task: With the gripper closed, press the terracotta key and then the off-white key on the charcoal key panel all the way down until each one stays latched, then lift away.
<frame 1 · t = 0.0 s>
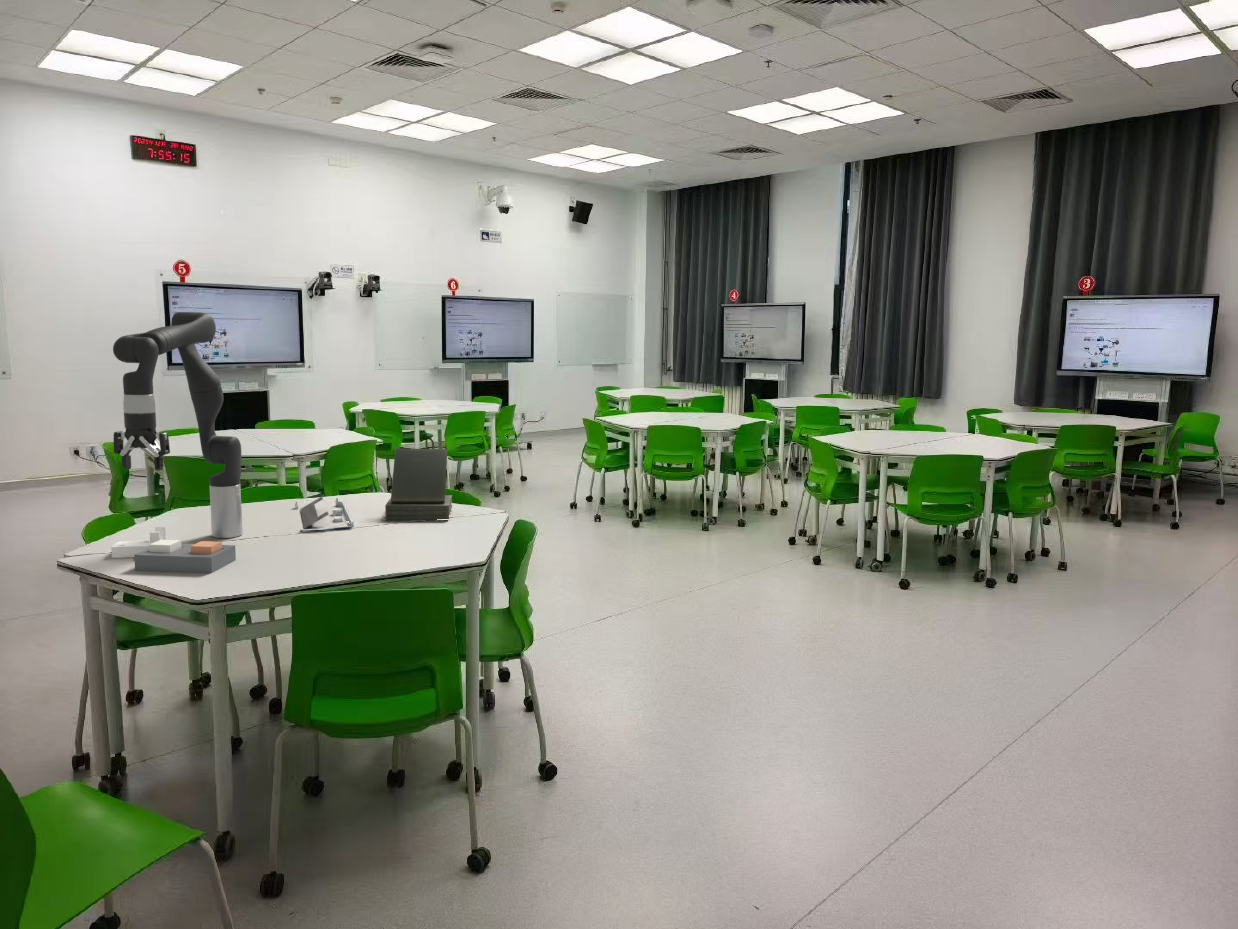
hand: (143, 469, 229), 29 cm above the table, tool pointing down, fingers open, 8 cm apart
terracotta key: (206, 549, 241), point 5 cm above the table, slide at 0.0 cm
off-white key: (165, 548, 241), point 5 cm above the table, slide at 0.0 cm
bracket: (139, 555, 252), on the table
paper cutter: (323, 520, 307), on the table
key panel: (186, 565, 242), on the table
upright slab on base: (420, 516, 317), on the table
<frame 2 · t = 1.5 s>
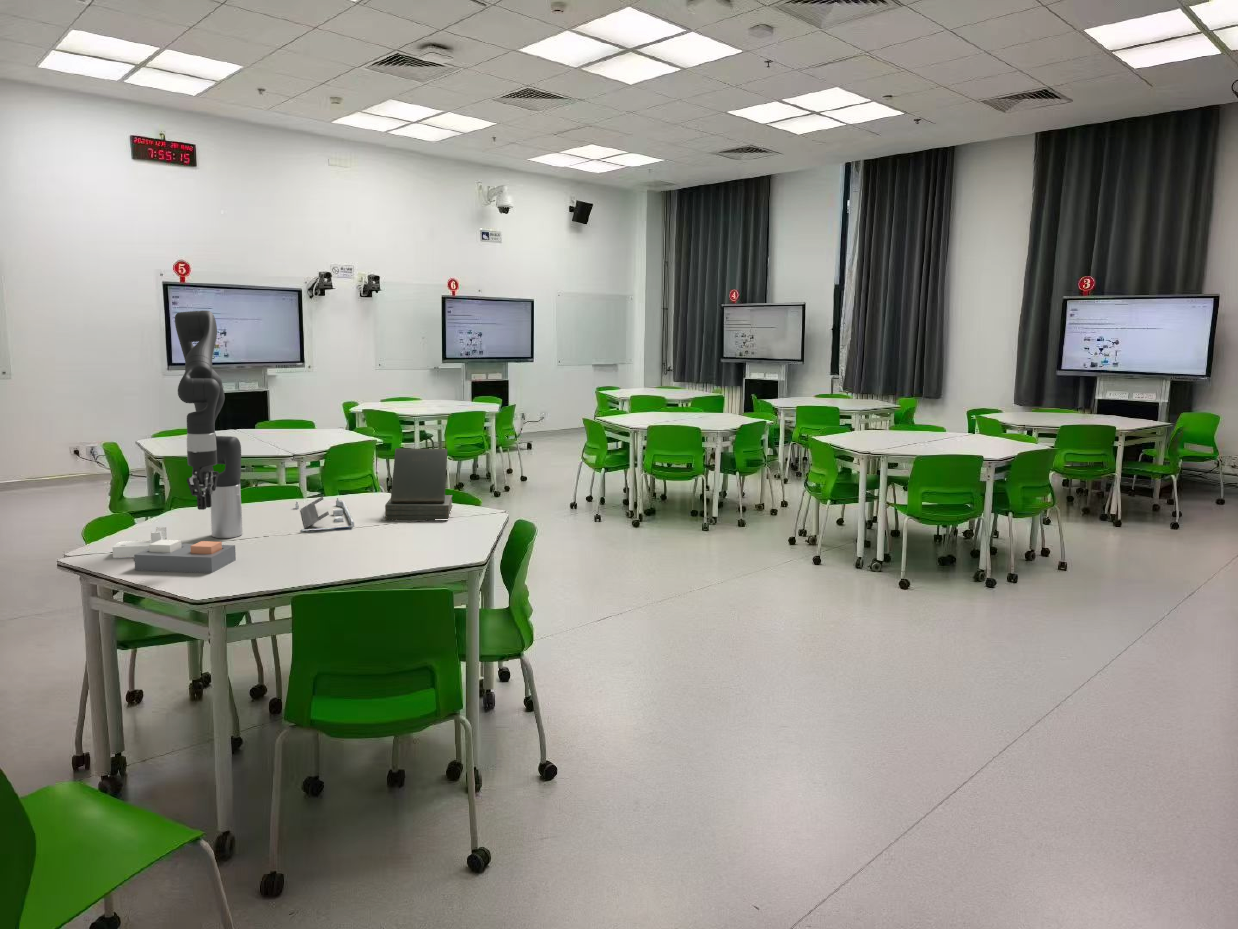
hand: (204, 508, 239), 17 cm above the table, tool pointing down, fingers closed
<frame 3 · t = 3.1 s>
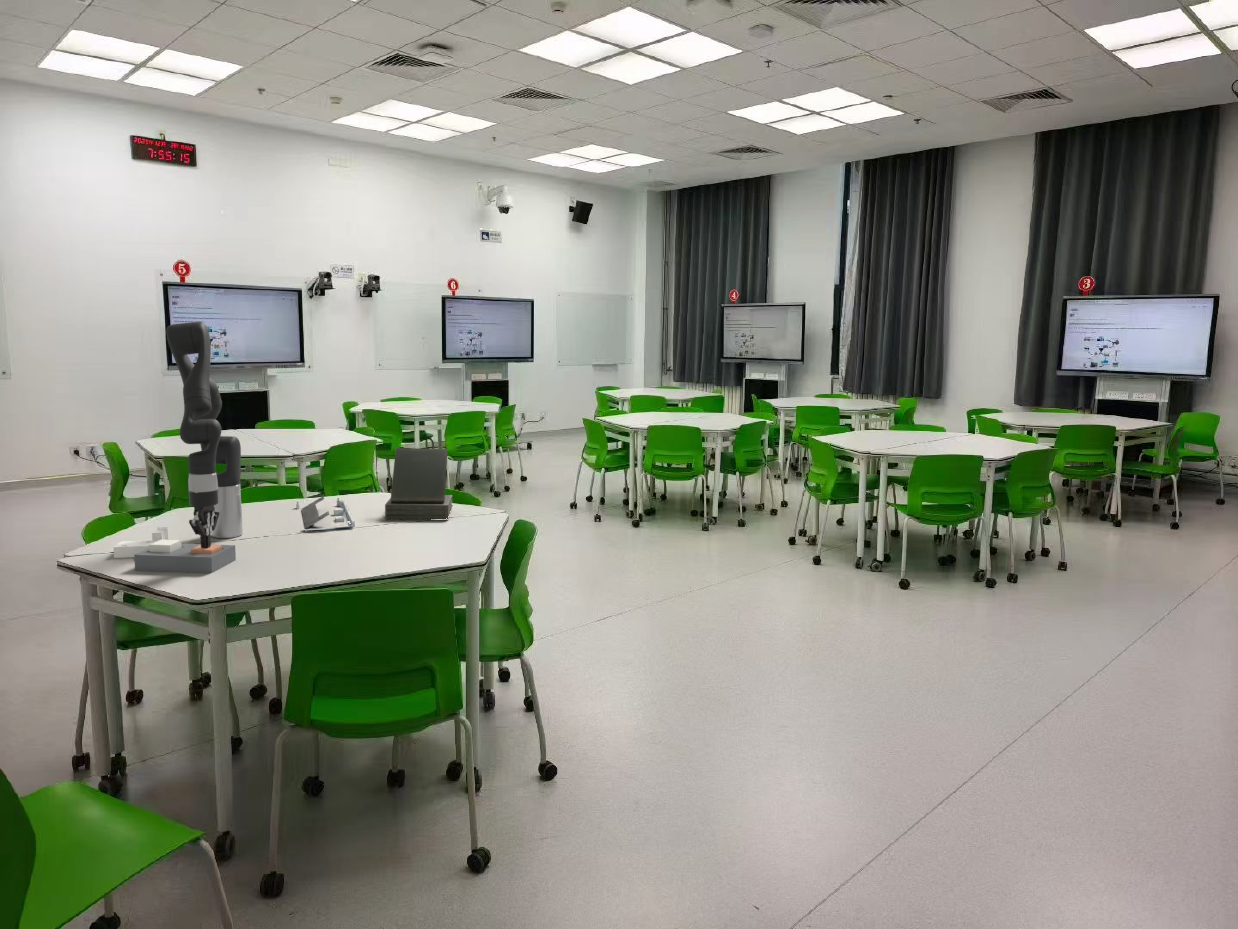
hand: (205, 547, 241), 5 cm above the table, tool pointing down, fingers closed
terracotta key: (206, 553, 241), point 4 cm above the table, slide at 1.0 cm, touching gripper
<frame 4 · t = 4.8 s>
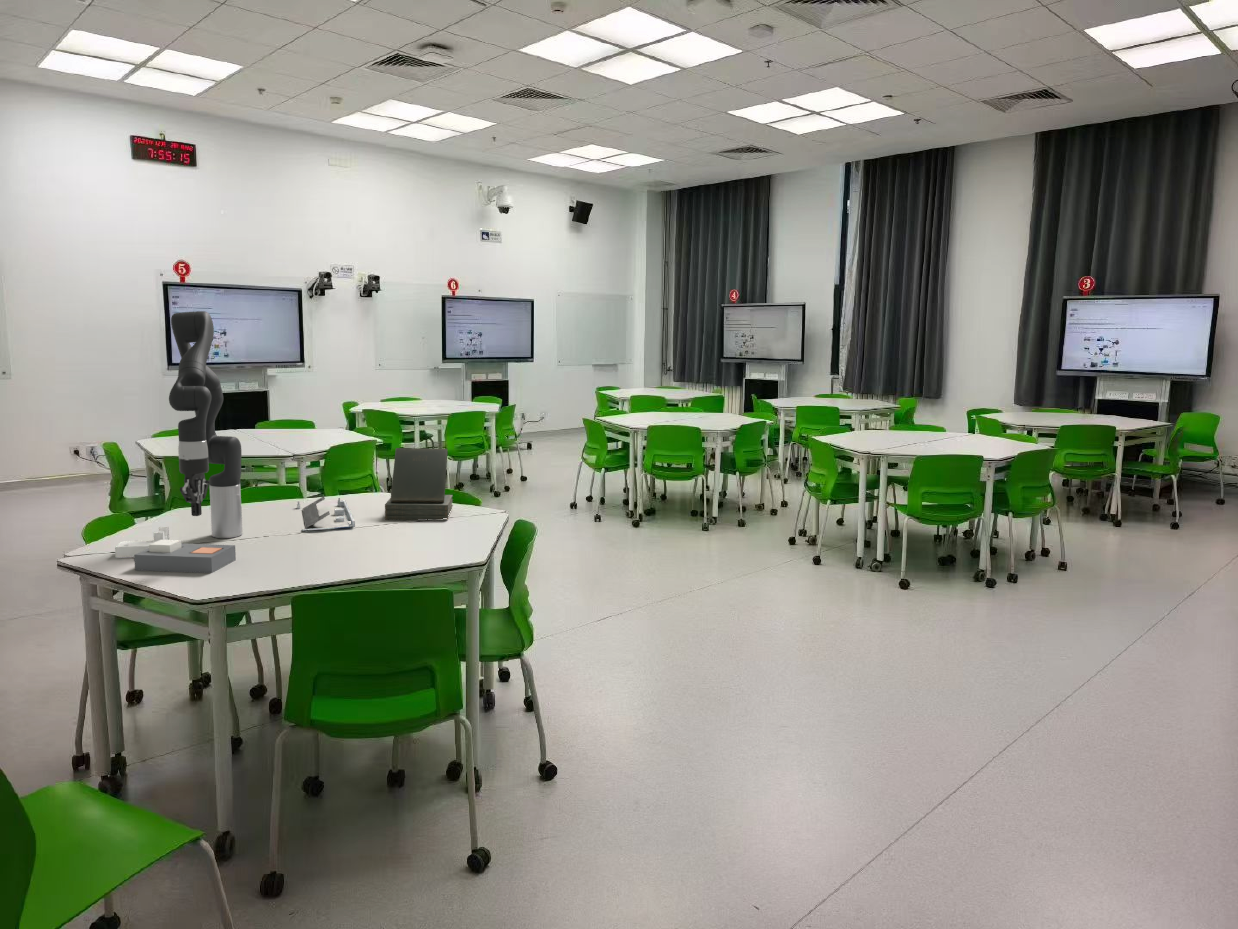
hand: (196, 515, 240), 15 cm above the table, tool pointing down, fingers closed
terracotta key: (206, 556, 241), point 3 cm above the table, slide at 1.9 cm
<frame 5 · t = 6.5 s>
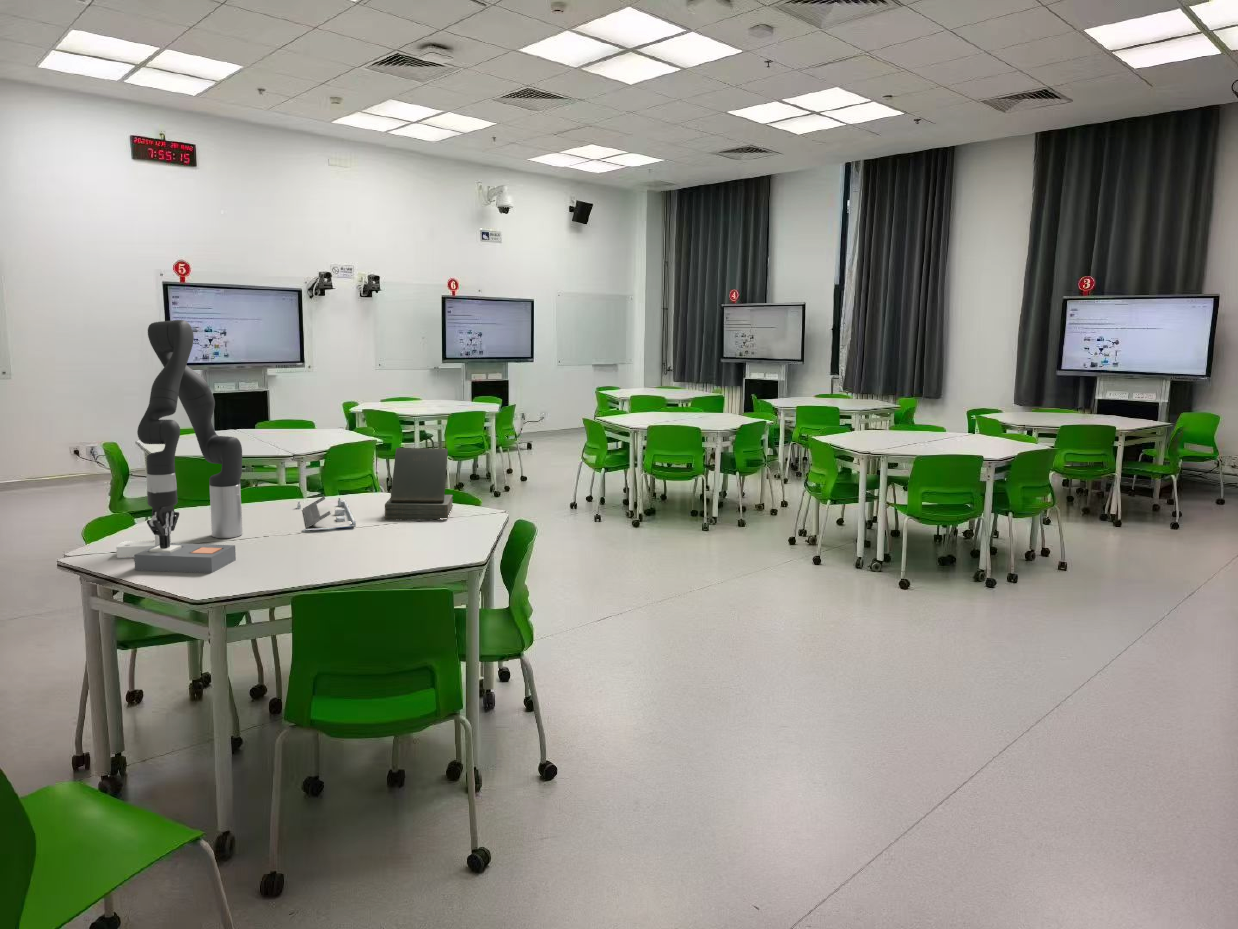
hand: (164, 547, 241), 5 cm above the table, tool pointing down, fingers closed
off-white key: (165, 553, 242), point 3 cm above the table, slide at 1.5 cm, touching gripper
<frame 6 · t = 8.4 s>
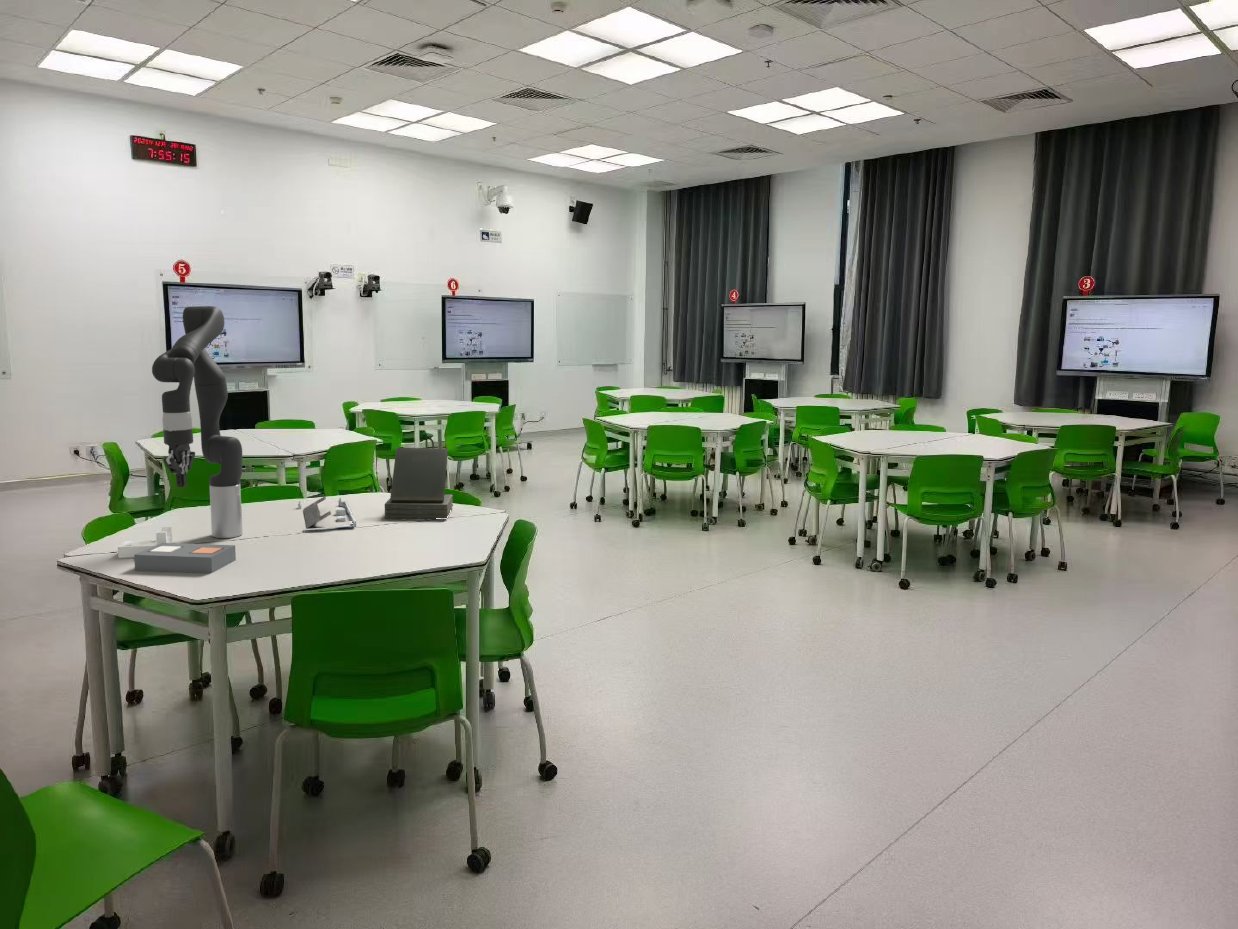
hand: (181, 486, 242), 22 cm above the table, tool pointing down, fingers closed
off-white key: (165, 554, 242), point 3 cm above the table, slide at 1.9 cm
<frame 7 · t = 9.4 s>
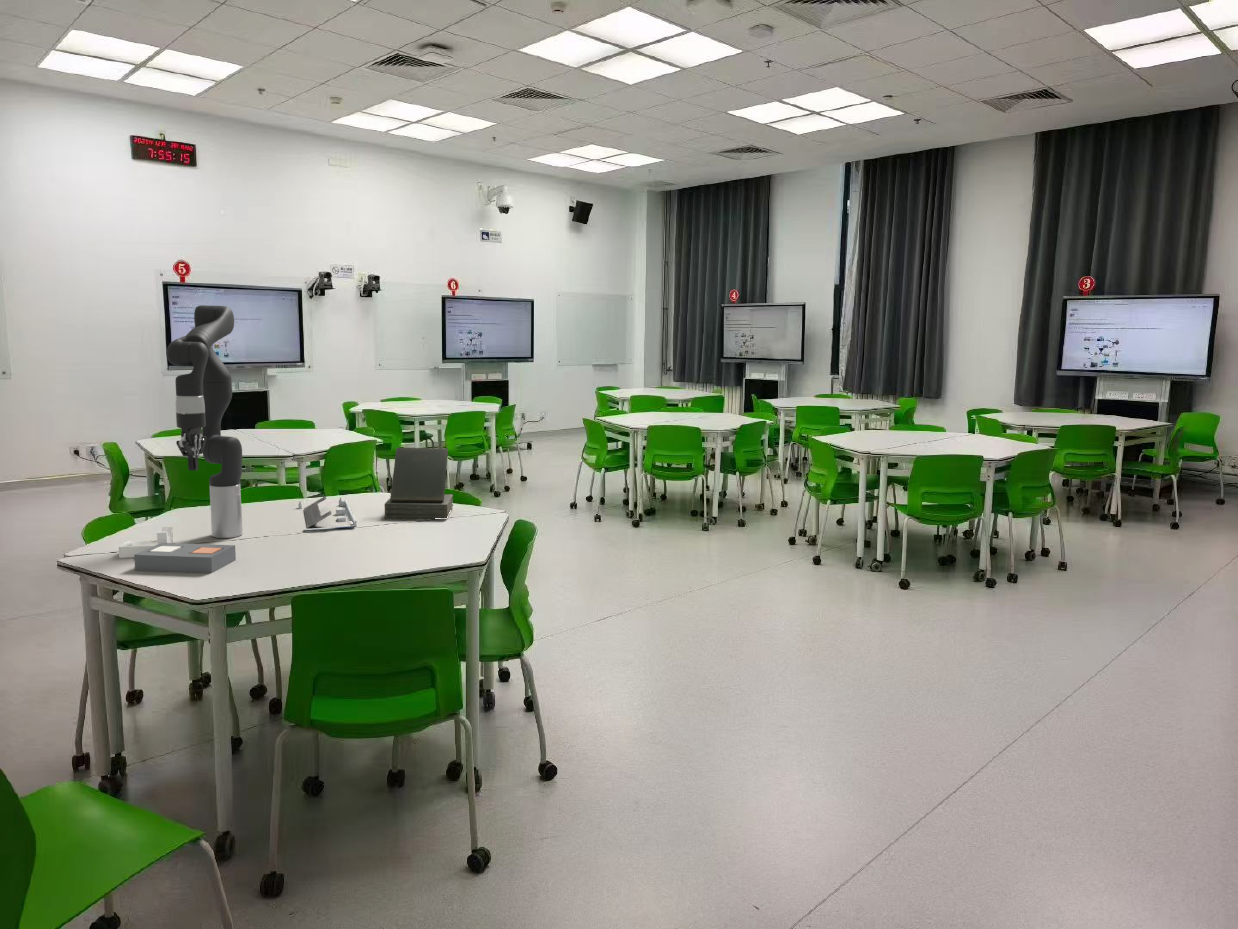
hand: (193, 470, 244), 27 cm above the table, tool pointing down, fingers closed
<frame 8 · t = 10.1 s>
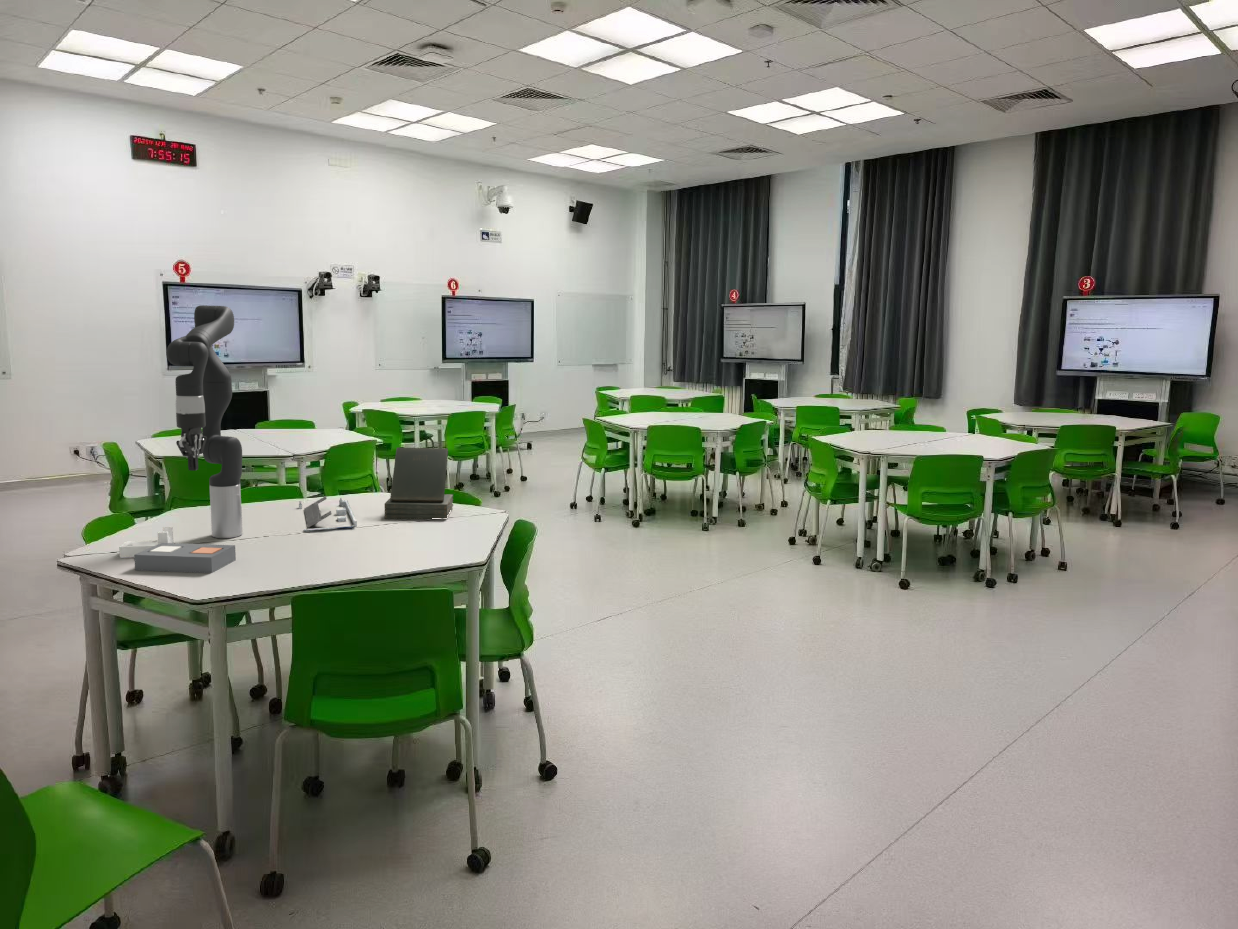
hand: (193, 470, 244), 27 cm above the table, tool pointing down, fingers closed
at the end: terracotta key slide at 1.9 cm; off-white key slide at 1.9 cm; bracket moved 2.3 cm from its start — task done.
